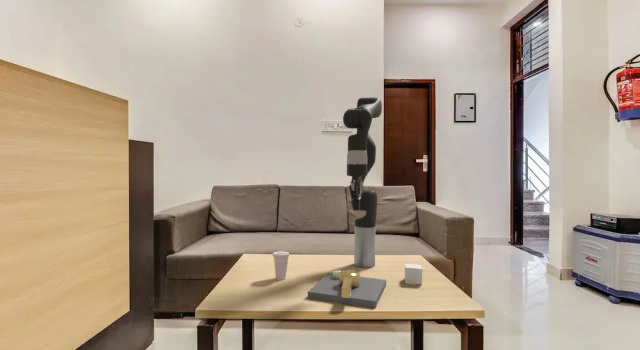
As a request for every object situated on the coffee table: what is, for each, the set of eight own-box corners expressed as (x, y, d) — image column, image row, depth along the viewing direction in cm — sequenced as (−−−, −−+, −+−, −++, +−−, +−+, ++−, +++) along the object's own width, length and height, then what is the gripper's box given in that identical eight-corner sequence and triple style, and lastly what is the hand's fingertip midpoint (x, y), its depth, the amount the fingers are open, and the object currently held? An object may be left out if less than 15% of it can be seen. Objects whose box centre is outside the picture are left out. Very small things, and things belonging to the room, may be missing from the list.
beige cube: (422, 285, 123) (422, 268, 123) (405, 283, 124) (405, 267, 124) (420, 280, 128) (420, 264, 128) (404, 279, 130) (404, 263, 130)
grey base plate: (328, 278, 129) (328, 266, 129) (386, 285, 122) (386, 272, 122) (307, 297, 108) (308, 283, 108) (375, 307, 101) (375, 292, 101)
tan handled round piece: (340, 280, 119) (340, 269, 119) (360, 282, 118) (360, 270, 118) (333, 299, 101) (334, 286, 101) (357, 301, 100) (357, 288, 100)
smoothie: (286, 281, 124) (286, 244, 124) (269, 280, 125) (270, 243, 125) (291, 276, 130) (291, 240, 130) (275, 275, 132) (276, 239, 132)
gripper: (351, 163, 131) (350, 208, 131) (342, 162, 118) (341, 211, 118) (370, 164, 128) (369, 209, 128) (363, 162, 116) (362, 212, 116)
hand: (356, 210), depth 123 cm, fingers closed
